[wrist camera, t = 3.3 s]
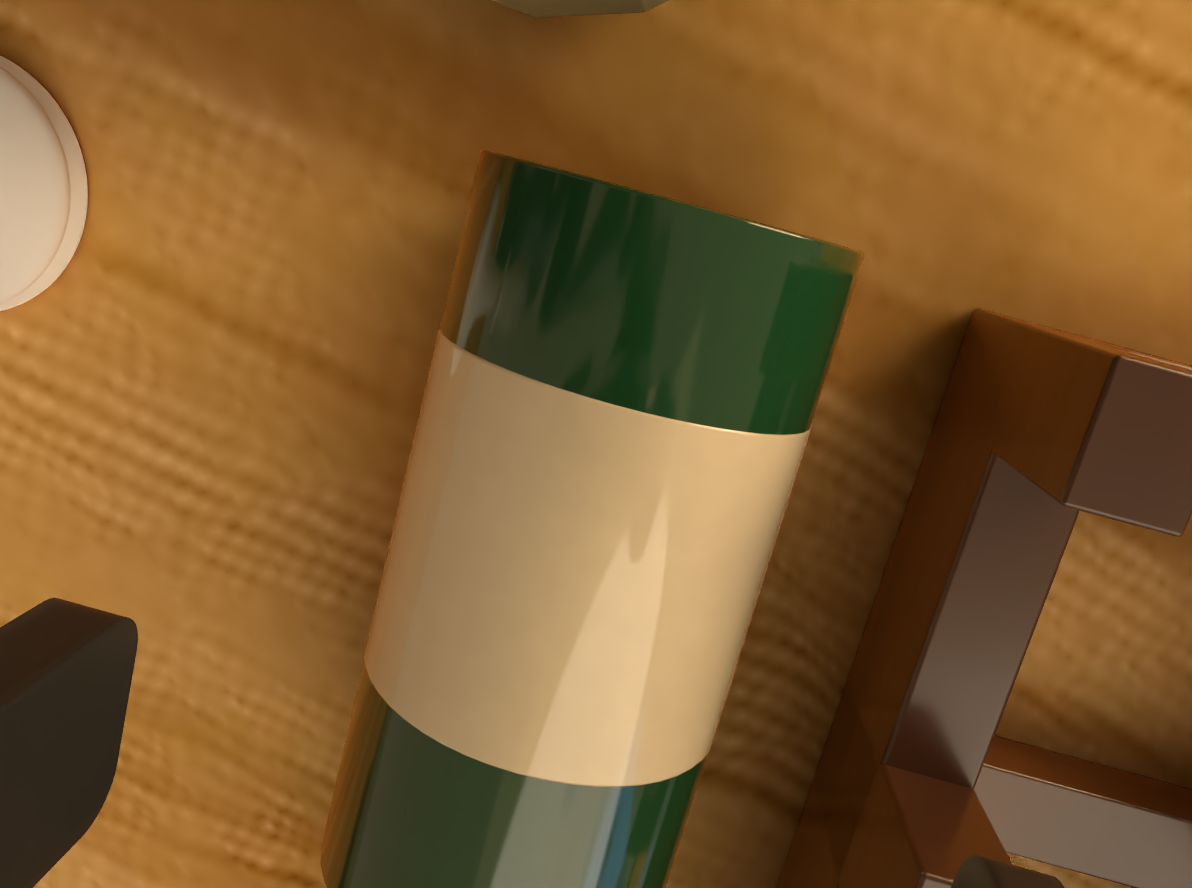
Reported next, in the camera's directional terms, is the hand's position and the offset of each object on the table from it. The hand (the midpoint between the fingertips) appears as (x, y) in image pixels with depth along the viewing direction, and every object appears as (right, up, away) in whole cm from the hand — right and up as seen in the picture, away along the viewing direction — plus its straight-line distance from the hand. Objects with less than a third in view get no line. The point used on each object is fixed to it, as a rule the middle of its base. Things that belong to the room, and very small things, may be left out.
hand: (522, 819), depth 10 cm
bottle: (0, -1, +11) cm, 11 cm away
